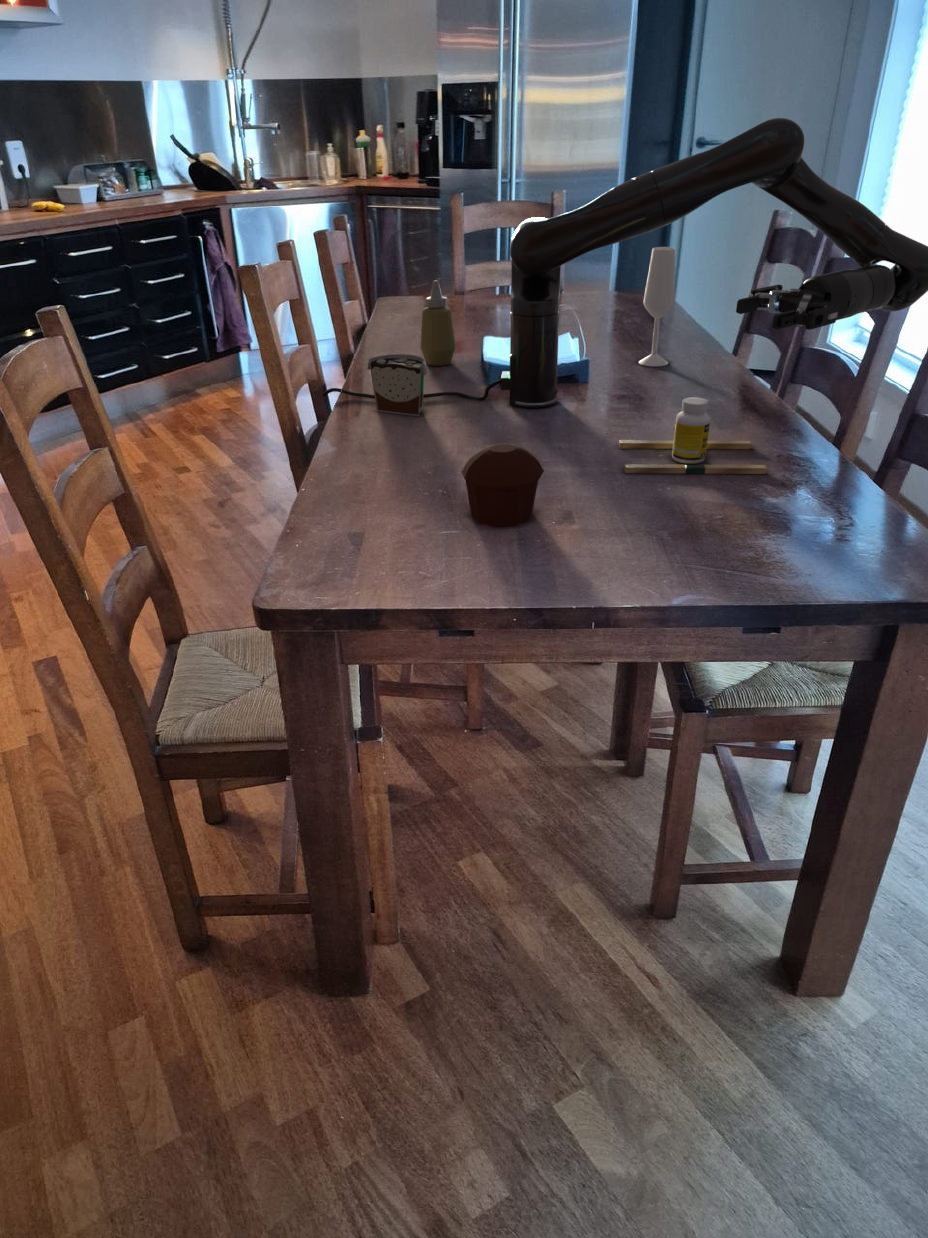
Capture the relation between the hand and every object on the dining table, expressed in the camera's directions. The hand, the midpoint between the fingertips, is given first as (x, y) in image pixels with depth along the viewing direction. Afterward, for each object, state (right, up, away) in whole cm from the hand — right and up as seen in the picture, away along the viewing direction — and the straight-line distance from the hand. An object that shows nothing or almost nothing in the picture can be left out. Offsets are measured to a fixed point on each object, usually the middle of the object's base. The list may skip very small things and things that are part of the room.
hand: (755, 314), depth 136 cm
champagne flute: (-3, +10, +60) cm, 61 cm away
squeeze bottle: (-52, +11, +64) cm, 83 cm away
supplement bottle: (-9, -22, +7) cm, 24 cm away
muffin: (-40, -33, -10) cm, 53 cm away
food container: (-57, -7, +34) cm, 67 cm away
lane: (-9, -21, +7) cm, 24 cm away
